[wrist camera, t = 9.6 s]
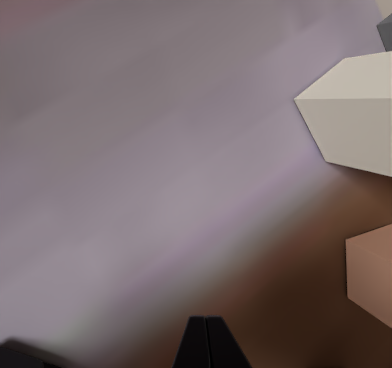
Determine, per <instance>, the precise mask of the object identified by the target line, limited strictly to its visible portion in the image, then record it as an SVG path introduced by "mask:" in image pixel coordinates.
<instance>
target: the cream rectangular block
mask: <svg viewBox="0 0 392 368" xmlns="http://www.w3.org/2000/svg"><path fill="white" fill-rule="evenodd" d="M294 101H295V103H296V105H297V107H298V109H299V111H300V112H301V114H302V116H303V118H304V120H305V122H306V124H307V126H308V128H309V130H310V132H311V134H312V136H313V138H314V140H315V142H316V143H317V145H318V147H319V149H320V151H321V153H322V155H323V157H324V159H325V161H326V162H330V163H335V164H339V165H343V166H348V167H352V168H356V169H361V170H365V171H370V172H374V173H378V174H383V175H387V176H391V177H392V51H389V52H382V53H376V54H370V55H363V56H357V57H350V58H344V59H343V60H342V61H340V62H339V63H338V64H337V65H335V66H334V67H333V68H332V69H331V70H329V71H328V72H327V73H326V74H324V75H323V76H322V77H321V78H319V79H318V80H317V81H316V82H314V83H313V84H312V85H311V86H309V87H308V88H307V89H306V90H305V91H303V92H302V93H301V94H300V95H298V96H297V97H296V98H295V99H294Z"/></svg>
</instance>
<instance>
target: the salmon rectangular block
mask: <svg viewBox="0 0 392 368" xmlns="http://www.w3.org/2000/svg"><path fill="white" fill-rule="evenodd" d="M346 264H347V295H348V298H349V299H350V300H352V301H353V302H355V303H356V304H357V305H359V306H360V307H362V308H363V309H365V310H366V311H367V312H369V313H370V314H372V315H373V316H375V317H376V318H378V319H379V320H380V321H382V322H383V323H385V324H386V325H388V326H389V327H391V328H392V224H390V225H387V226H384V227H381V228H378V229H375V230H372V231H369V232H367V233H364V234H361V235H358V236H355V237H352V238H349V239H346Z"/></svg>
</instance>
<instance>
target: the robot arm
mask: <svg viewBox="0 0 392 368" xmlns="http://www.w3.org/2000/svg"><path fill="white" fill-rule="evenodd" d="M0 368H61V367H57V366H54V365H51V364H48V363H45V362H42V360H40V359H37V358H34V357H30V356H27V355H24V354H21V353H18V352H15V351H12V350H9V349H6V348H3V347H0ZM171 368H252V366H251V365H250V363H249V361H248V360H247V358H246V356H245V355H244V353H243V351H242V349H241V348H240V346H239V344H238V343H237V341H236V339H235V338H234V336H233V334H232V333H231V331H230V329H229V328H228V326H227V324H226V323H225V321H224V319H223V318H222V317H221V316H219V315H208V316H206V317H205V316H203V315H191V316H190V317H189V319H188V321H187V324H186V327H185V330H184V333H183V336H182V339H181V341H180V344H179V347H178V350H177V353H176V356H175V359H174V361H173V364H172V367H171Z"/></svg>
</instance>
